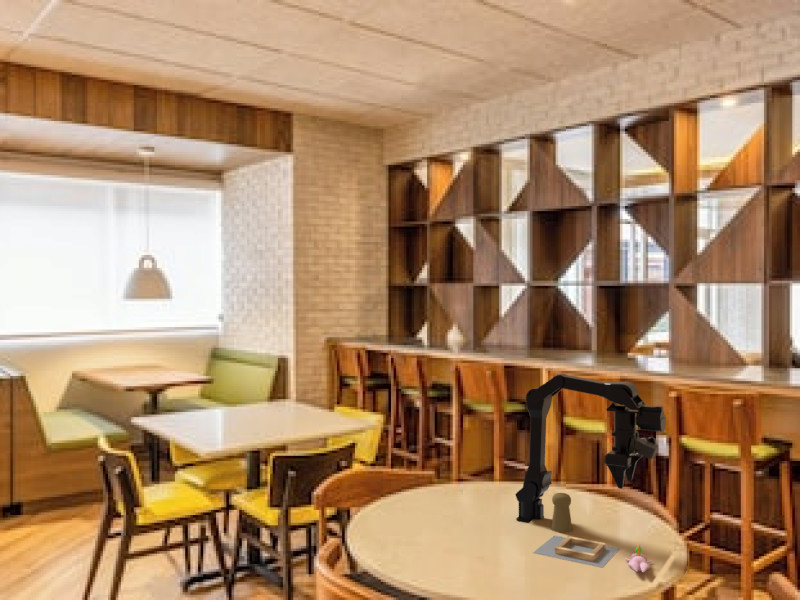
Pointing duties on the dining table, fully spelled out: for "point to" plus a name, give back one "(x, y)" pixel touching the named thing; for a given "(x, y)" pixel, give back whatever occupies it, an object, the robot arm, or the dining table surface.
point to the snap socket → (592, 556)
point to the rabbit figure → (638, 561)
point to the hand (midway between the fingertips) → (625, 484)
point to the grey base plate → (601, 561)
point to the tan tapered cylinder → (561, 513)
